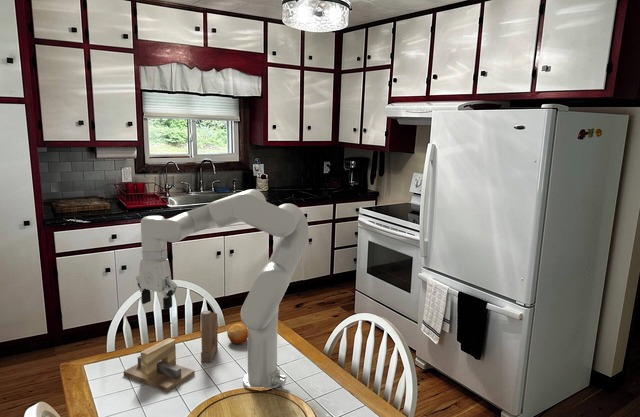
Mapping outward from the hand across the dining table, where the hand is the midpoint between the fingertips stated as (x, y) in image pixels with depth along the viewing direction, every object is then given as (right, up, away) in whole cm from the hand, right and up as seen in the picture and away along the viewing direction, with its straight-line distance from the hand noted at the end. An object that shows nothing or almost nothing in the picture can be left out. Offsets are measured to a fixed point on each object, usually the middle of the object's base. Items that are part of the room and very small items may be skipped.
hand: (157, 305), depth 150 cm
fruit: (+21, -21, +29) cm, 42 cm away
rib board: (-1, -24, +4) cm, 24 cm away
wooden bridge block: (0, -23, +3) cm, 23 cm away
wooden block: (+13, -22, +18) cm, 31 cm away
